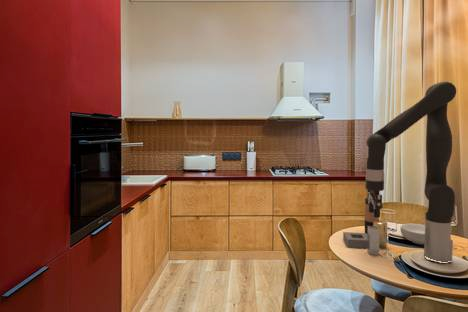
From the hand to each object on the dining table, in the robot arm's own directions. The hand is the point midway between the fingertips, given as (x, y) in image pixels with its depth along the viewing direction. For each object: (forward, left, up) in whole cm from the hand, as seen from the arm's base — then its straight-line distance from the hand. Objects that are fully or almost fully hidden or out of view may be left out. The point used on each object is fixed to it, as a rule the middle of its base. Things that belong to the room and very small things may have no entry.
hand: (373, 214), depth 135 cm
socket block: (+5, -11, -18) cm, 21 cm away
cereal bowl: (-27, -19, -18) cm, 38 cm away
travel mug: (-6, -24, -18) cm, 30 cm away
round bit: (-5, -9, -18) cm, 21 cm away
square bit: (0, 0, -18) cm, 18 cm away
